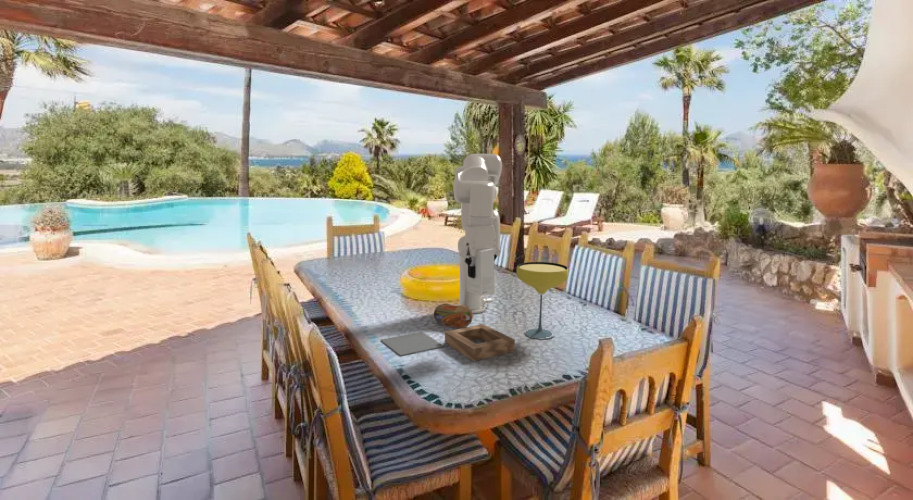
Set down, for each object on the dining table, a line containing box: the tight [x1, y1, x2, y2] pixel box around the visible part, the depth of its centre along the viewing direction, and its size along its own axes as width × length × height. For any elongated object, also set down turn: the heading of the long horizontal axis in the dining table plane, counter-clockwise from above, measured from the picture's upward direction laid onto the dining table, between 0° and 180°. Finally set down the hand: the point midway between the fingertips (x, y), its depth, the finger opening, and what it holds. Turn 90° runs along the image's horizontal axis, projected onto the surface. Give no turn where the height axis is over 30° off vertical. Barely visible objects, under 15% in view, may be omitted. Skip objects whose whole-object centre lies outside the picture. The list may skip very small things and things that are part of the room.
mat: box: [380, 331, 445, 357], centre depth 161 cm, size 16×16×1 cm
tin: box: [433, 303, 474, 329], centre depth 180 cm, size 15×3×8 cm, turn 70°
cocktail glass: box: [516, 261, 569, 339], centre depth 170 cm, size 18×18×25 cm
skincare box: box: [466, 249, 496, 297], centre depth 155 cm, size 8×6×15 cm
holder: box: [444, 323, 516, 362], centre depth 159 cm, size 16×18×4 cm
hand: (480, 275), depth 155 cm, fingers closed on skincare box, 5 cm apart
